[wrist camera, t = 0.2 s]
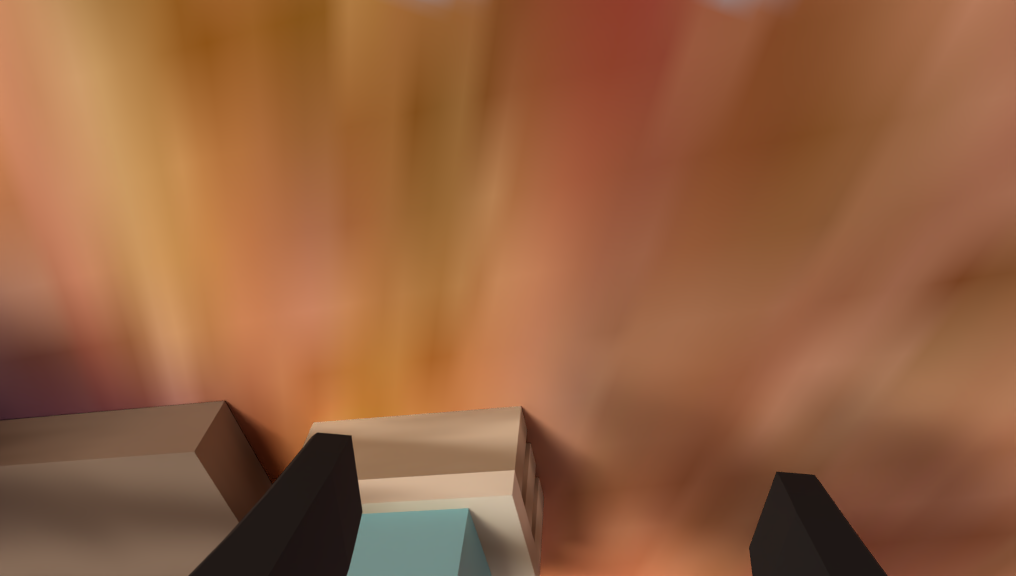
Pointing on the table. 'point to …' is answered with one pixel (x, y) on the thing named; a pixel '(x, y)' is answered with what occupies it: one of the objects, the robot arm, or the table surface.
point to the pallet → (455, 475)
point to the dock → (123, 490)
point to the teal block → (418, 545)
